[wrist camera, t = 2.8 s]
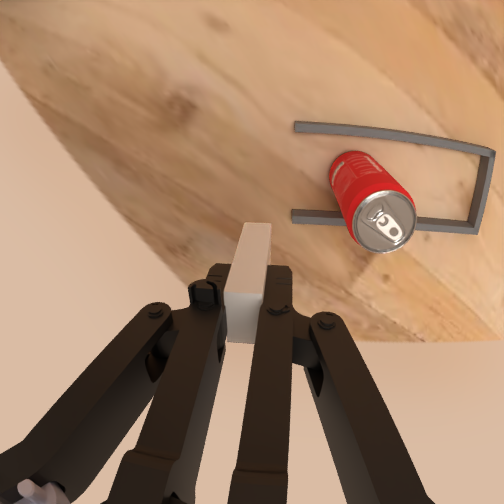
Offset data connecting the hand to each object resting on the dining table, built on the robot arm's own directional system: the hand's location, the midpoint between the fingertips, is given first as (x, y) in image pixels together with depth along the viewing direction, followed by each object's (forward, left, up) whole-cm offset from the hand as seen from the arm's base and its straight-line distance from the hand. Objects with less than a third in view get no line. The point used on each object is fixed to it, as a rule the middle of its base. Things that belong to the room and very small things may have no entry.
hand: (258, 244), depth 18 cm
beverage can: (+5, +6, -15) cm, 18 cm away
